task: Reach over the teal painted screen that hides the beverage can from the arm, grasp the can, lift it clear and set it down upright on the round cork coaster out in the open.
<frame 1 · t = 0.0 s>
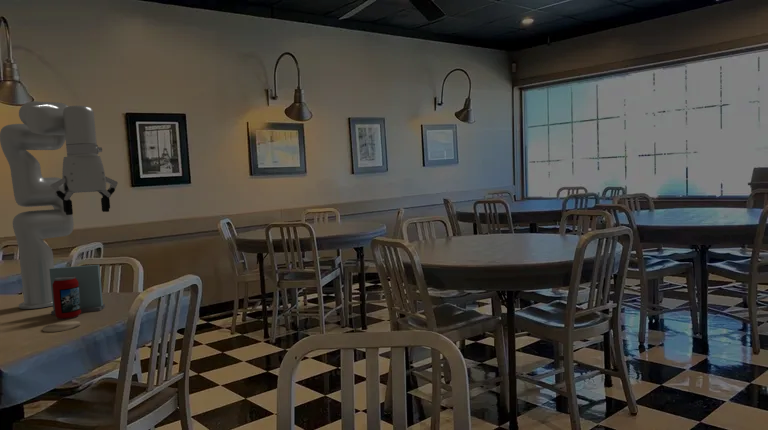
hand: (87, 213, 157), 31 cm above the table, tool pointing down, fingers open, 9 cm apart
coaster: (61, 327, 156), on the table
screen: (78, 310, 177), on the table
beverage can: (68, 317, 169), on the table
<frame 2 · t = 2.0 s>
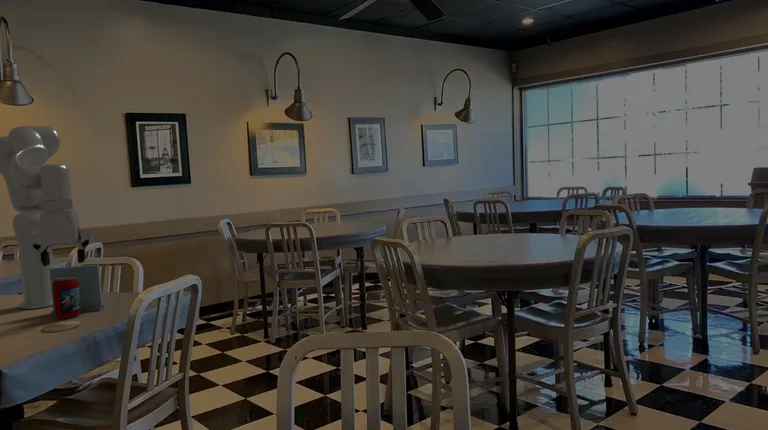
hand: (64, 263, 167), 16 cm above the table, tool pointing down, fingers open, 9 cm apart
nothing on the table moved.
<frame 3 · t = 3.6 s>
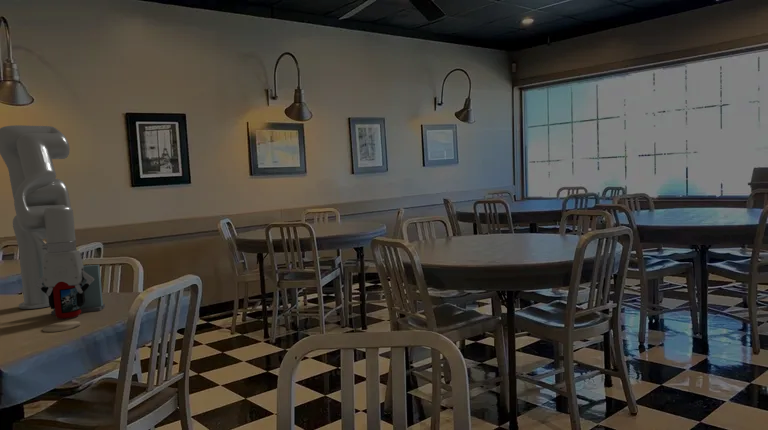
hand: (67, 306, 169), 3 cm above the table, tool pointing down, fingers closed on beverage can, 6 cm apart
beverage can: (68, 317, 169), on the table, touching gripper
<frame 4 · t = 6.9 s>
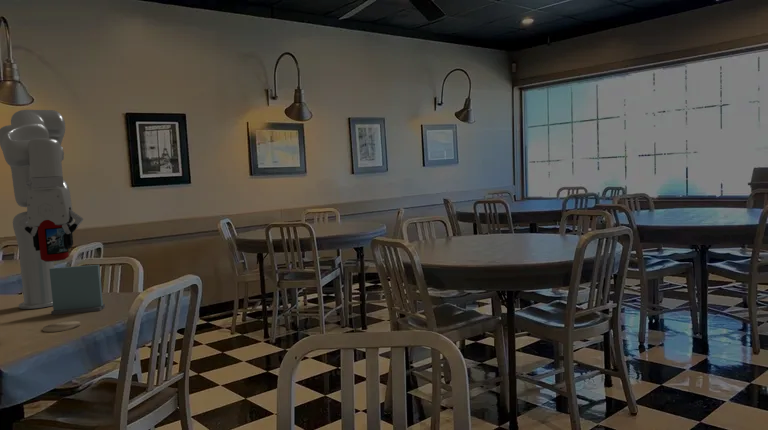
hand: (54, 248, 155), 22 cm above the table, tool pointing down, fingers closed on beverage can, 6 cm apart
beverage can: (55, 261, 155), point 19 cm above the table, touching gripper
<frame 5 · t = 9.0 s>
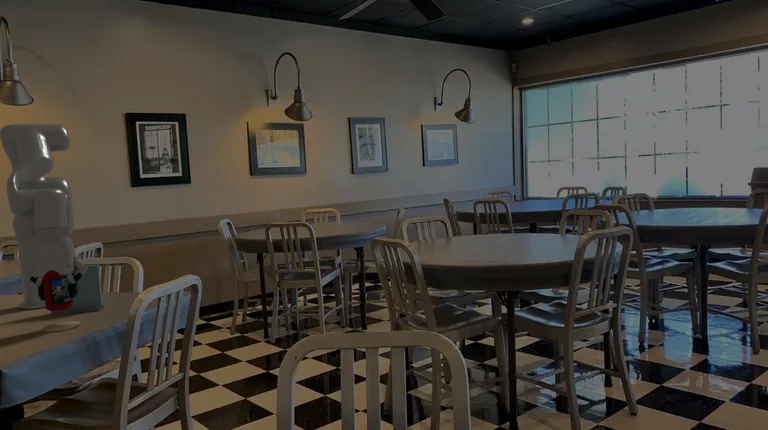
hand: (58, 297, 156), 8 cm above the table, tool pointing down, fingers closed on beverage can, 6 cm apart
beverage can: (60, 310, 156), point 5 cm above the table, touching gripper
when the fingers open (5 cm above the table, at t = 10.3 s): beverage can drops 1 cm, resting on coaster.
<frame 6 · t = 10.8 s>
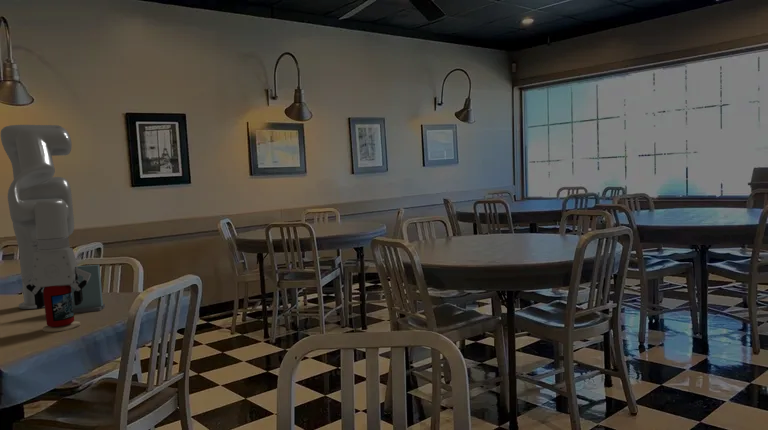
hand: (59, 305, 156), 6 cm above the table, tool pointing down, fingers open, 9 cm apart
beverage can: (61, 326, 157), resting on coaster
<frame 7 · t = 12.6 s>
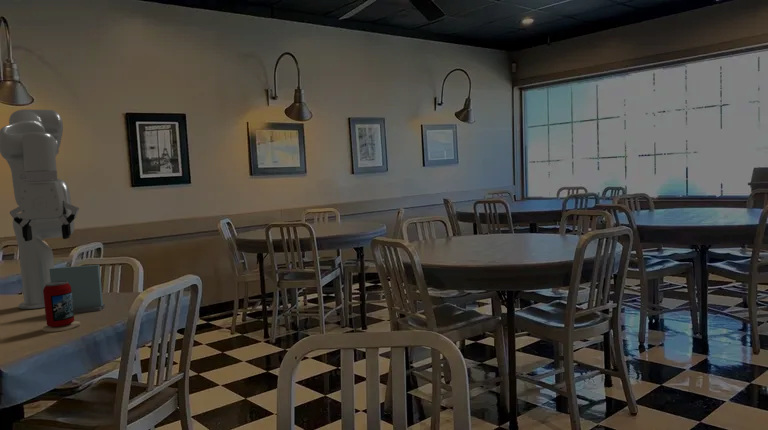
hand: (47, 239, 156), 25 cm above the table, tool pointing down, fingers open, 9 cm apart
nothing on the table moved.
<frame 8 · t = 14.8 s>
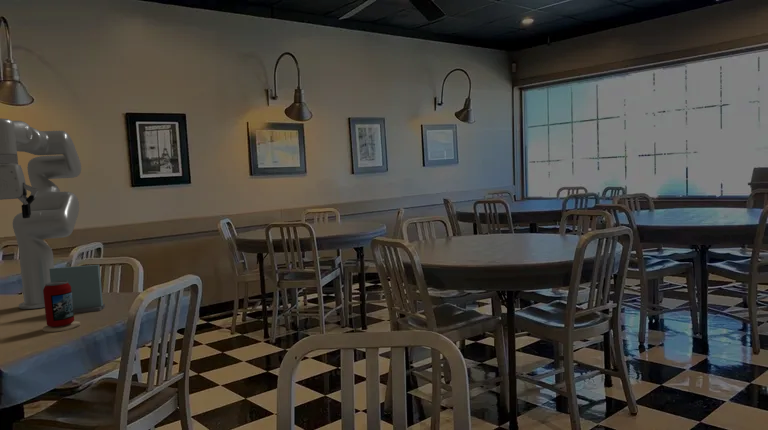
hand: (8, 219, 167), 30 cm above the table, tool pointing down, fingers open, 9 cm apart
nothing on the table moved.
at the end: beverage can 0.3 cm from the coaster (horizontally); beverage can tilted 1°; the gripper is holding nothing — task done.
